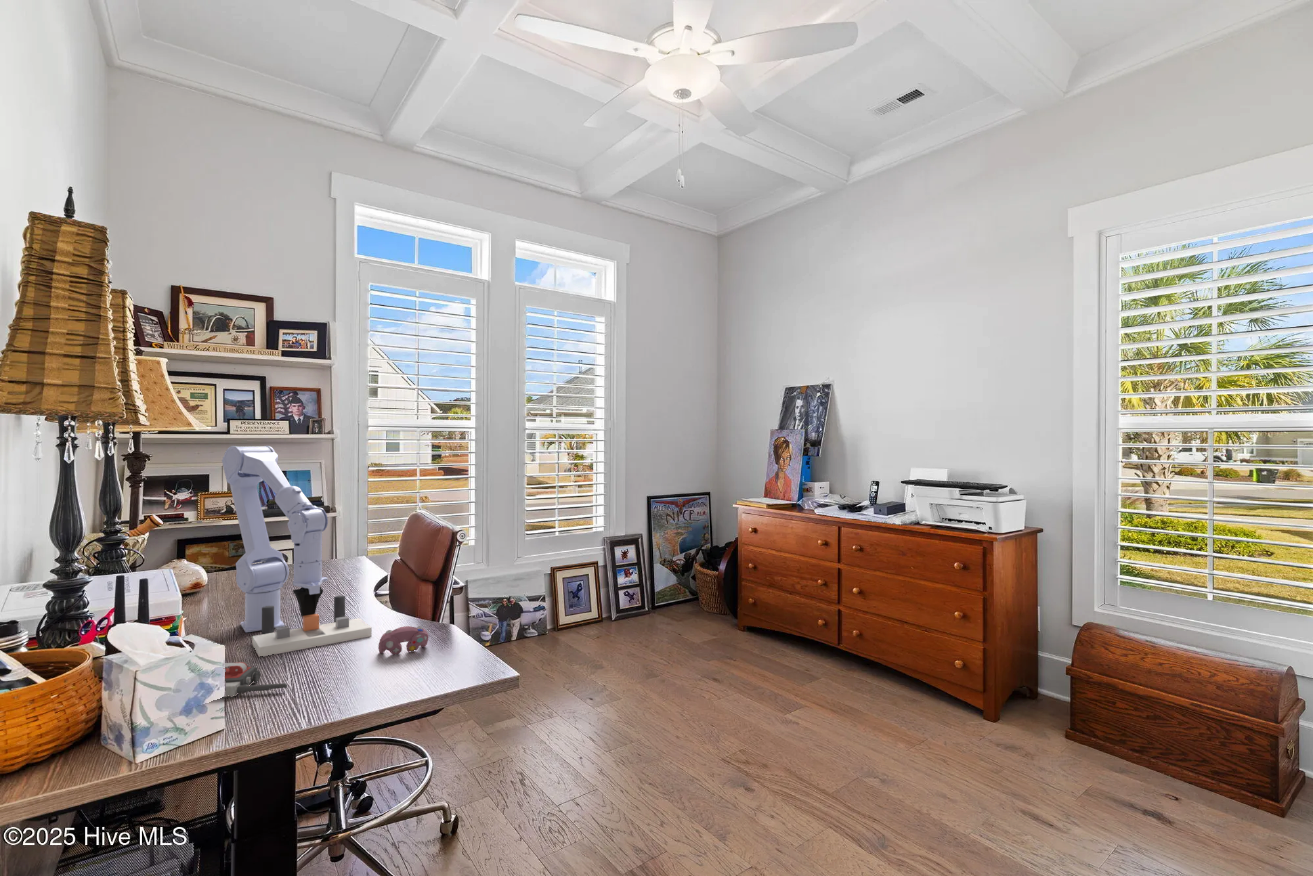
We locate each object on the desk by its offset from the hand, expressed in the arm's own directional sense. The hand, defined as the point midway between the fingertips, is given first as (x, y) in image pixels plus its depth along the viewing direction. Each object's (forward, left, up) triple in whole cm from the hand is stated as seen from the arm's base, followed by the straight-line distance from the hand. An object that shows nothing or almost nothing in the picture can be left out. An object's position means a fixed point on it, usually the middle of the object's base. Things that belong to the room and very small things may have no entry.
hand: (307, 619), depth 146 cm
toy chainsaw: (+27, -17, -4) cm, 33 cm away
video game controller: (+27, +13, -4) cm, 30 cm away
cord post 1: (-3, -8, -3) cm, 9 cm away
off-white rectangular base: (+6, 0, -3) cm, 7 cm away
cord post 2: (-3, +7, -3) cm, 9 cm away
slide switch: (+3, 0, -1) cm, 4 cm away
